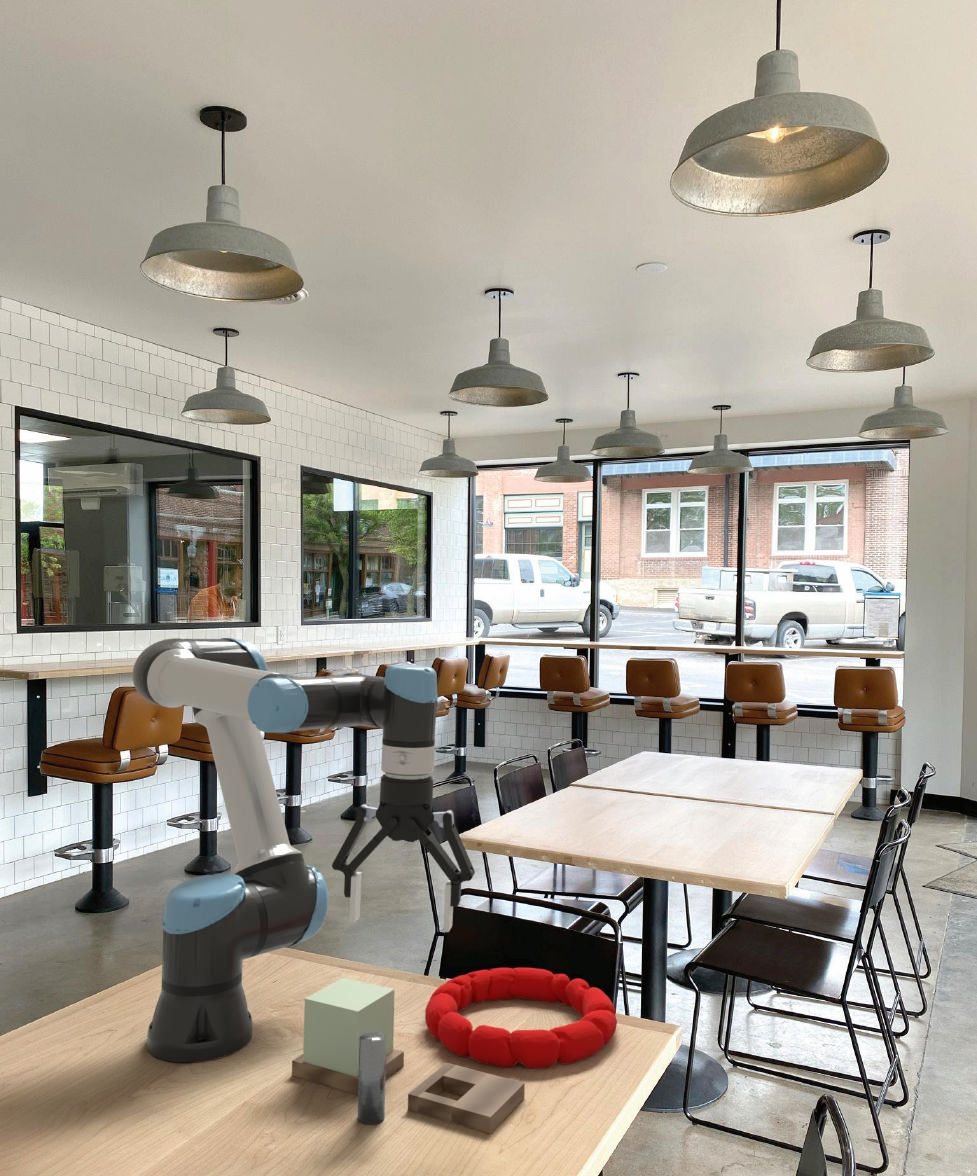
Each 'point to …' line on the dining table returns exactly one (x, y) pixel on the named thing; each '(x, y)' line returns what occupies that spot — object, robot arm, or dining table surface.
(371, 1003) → the pale green cube
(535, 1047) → the decorative ring
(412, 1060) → the dining table surface
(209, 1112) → the dining table surface
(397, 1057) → the board
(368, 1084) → the peg
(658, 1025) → the dining table surface
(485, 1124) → the square hole block
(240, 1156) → the dining table surface
